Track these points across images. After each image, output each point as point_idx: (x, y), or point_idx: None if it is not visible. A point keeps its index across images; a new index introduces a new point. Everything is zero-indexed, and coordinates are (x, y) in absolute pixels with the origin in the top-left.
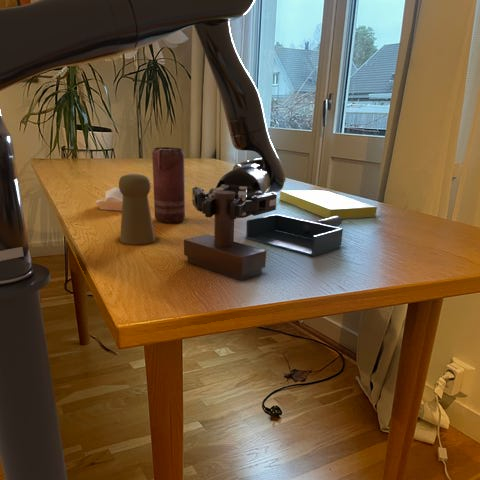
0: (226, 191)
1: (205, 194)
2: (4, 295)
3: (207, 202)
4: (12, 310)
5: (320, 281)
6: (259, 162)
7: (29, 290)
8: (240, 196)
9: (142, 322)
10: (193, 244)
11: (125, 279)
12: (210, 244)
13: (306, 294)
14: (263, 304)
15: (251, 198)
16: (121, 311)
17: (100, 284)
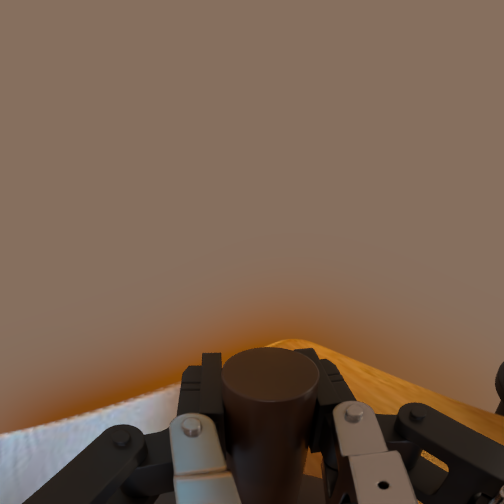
0: (270, 382)
1: (400, 422)
2: (496, 375)
3: (304, 349)
4: (500, 404)
5: (20, 479)
6: None
7: (499, 392)
8: (205, 440)
9: (278, 342)
10: None
11: (398, 408)
12: (304, 491)
13: (65, 430)
14: (141, 397)
15: (143, 436)
16: (316, 350)
17: (407, 384)
